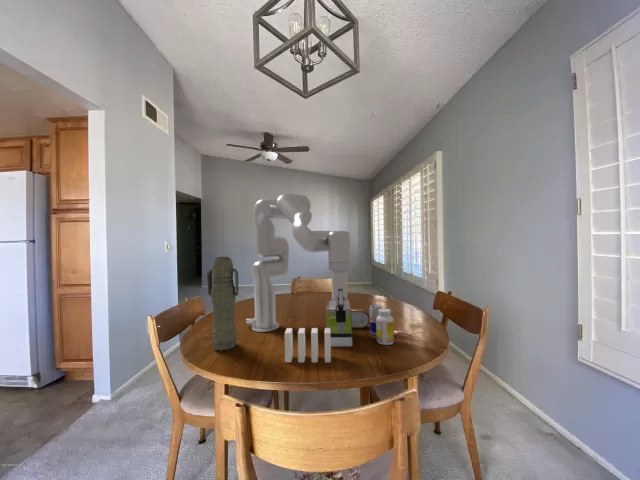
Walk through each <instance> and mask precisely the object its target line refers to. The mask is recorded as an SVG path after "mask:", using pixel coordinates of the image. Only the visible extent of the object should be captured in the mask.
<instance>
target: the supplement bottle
mask: <svg viewBox="0 0 640 480" xmlns="http://www.w3.org/2000/svg"><path fill="white" fill-rule="evenodd" d="M391 314H392V312H391V309H389V308H382V309H379V316H377V318H376V333H377V335H376V342H377V343H378V344H380V345H383V346H390V345H391V346H392V345H393V344H394V342H395V341H394V340H395V336H394V335H395V331H394V329H395V328H394V327H395V326H394V318H393V316H391Z"/></svg>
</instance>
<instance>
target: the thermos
mask: <svg viewBox="0 0 640 480" xmlns="http://www.w3.org/2000/svg"><path fill="white" fill-rule="evenodd" d="M212 262H213V263H212V265H211V266H212V267H211V268H212V269H208V272H207V276H206V277H207V289H208V290H207V295H208V296H209V297H210V298H211V304H212V310H213V311H212V316H213V322H212V323H213V329H212V331H211V333H212V335H211V336H212V338H211V339H212V341H211V342H212V344H213V345H212V349H213V350H214V349H215V350H219V351H218V352H223V351H222V350H227V351H230V350H229V349H231V350H233V349H235V348H236V347H237V327H236V324H235V323H236V322H235V321H236V320H235V318H236V317H235V303H236V297H237V296H239V287H240V286H239V271H238V270H237V268H234V263H233V261H232V258H231V257H229V256H217V257H215V258H214V259H213V261H212ZM234 280H235V283H234ZM235 346H236V347H235ZM234 347H235V348H234ZM232 348H233V349H232ZM215 350H214V351H215Z"/></svg>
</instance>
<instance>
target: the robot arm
mask: <svg viewBox="0 0 640 480" xmlns="http://www.w3.org/2000/svg"><path fill="white" fill-rule="evenodd" d="M310 209H311V201H310V199H309V197H307V196H306V195H304V194H300V193H299V194H297V193H289V192H287V193H283V194H280V195H279V196H278V198H277V199H275V198H262V199H259V200H258V201H257V202H256V203H255V204H254V207H253V220H254V223H255V254H256V256H258V257H259V258H273V257H274V258H273V259H261V260H257V261H255V262H254V263H253V264H252V265H251V271H250V272H251V275H252V276H251V277H252V281H253V293H254V294H253V295H254V298H253V300H254V317H253V318H246V319H245V324H247V325H251V330H252V331H253V332H258V333H259V332H260V333H266V332H273V331H276V330H277V329H279V328H280V323H279V322H276V321H277V319H276V317H277V316H276V315H277V314H276V289H275V286H274V284H273V283H272V281H271V280H277V279H278V280H279V279H282V278H285V277H286V276H287V274H288V271H289V257H290V256H289V255H290V253H289V251H290V250H289V247H290V246H289V243H288V240H287V239H286V238H285V237H284V236H276V235H275V232H276V231H275V224H274V223H273V221H272V220H271V219H276V220H277V219H280V220H288V221H289V222H290V223H291V224H292V229H291V230H292V235H293V238H294V240H295V242H296V243H297V244H298V245H299V246H300V247H301V248H302V249H303V250H304V251H306V252H308V253H320V252H328V253H327V257H328V272H329V273H331V301H333V302H334V301H336V322H346V310H345V301H347V300H348V273H350V272H351V271H352V269H351V266H352V265H351V235H350V233H349V231H347V230H311V229H310V228H309V227H308V225H310V222H311V221H312V212H311V211H310ZM338 299H339V301H338ZM338 303H339V304H338Z"/></svg>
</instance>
